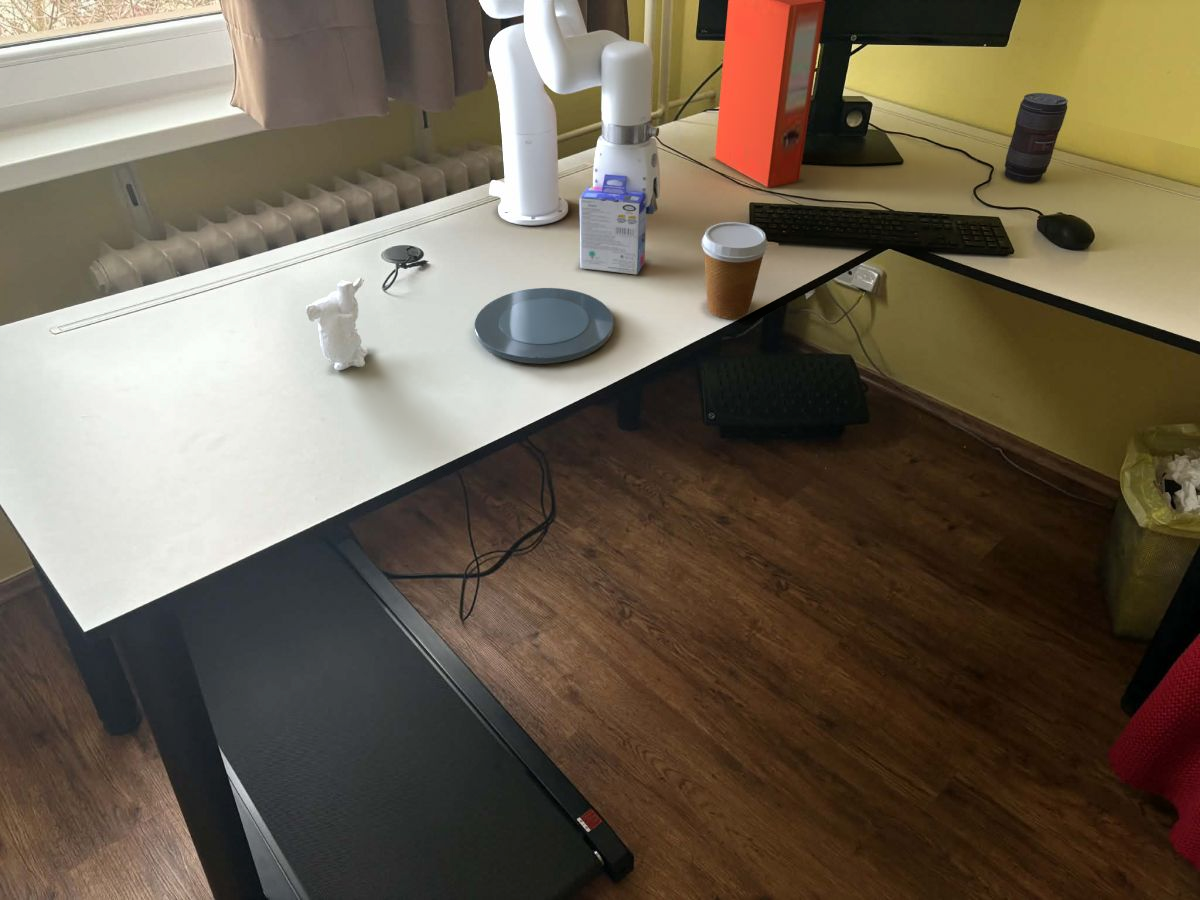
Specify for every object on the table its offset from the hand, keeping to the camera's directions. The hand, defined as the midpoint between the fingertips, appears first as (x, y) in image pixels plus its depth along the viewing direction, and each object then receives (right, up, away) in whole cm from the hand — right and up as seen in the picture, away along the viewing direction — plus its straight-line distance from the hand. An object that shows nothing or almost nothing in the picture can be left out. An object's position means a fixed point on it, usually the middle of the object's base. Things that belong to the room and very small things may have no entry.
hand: (625, 241), depth 149 cm
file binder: (+27, +21, +30) cm, 46 cm away
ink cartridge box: (-2, -4, -2) cm, 5 cm away
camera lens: (+78, +19, +27) cm, 85 cm away
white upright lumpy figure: (-39, -23, -24) cm, 51 cm away
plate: (-12, -17, -18) cm, 27 cm away
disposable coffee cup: (+15, -13, -13) cm, 24 cm away
